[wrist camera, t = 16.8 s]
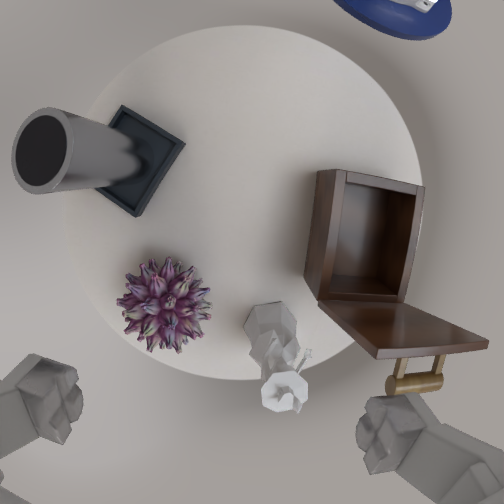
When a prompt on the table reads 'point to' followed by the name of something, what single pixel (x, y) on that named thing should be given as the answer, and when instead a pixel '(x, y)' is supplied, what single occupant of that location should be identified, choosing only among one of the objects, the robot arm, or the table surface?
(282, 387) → the figurine
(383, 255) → the chest
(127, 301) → the flower
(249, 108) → the table surface
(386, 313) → the lid
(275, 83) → the table surface
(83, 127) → the flask
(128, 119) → the tray
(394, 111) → the table surface
